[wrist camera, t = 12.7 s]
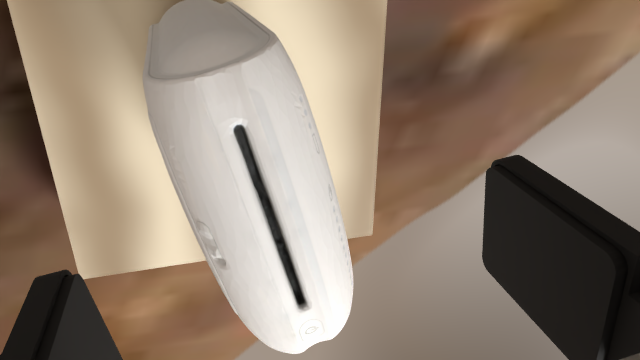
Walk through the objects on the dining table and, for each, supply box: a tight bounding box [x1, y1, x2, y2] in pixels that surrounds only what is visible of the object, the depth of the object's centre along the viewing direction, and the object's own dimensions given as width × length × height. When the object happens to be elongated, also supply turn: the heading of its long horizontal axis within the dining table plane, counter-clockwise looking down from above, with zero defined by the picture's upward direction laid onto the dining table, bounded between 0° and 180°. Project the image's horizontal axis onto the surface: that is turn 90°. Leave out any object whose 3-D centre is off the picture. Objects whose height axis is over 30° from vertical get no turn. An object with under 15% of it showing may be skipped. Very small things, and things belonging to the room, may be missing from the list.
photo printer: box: [143, 0, 353, 354], centre depth 17 cm, size 10×4×12 cm, turn 14°
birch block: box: [7, 0, 387, 279], centre depth 25 cm, size 16×16×6 cm
